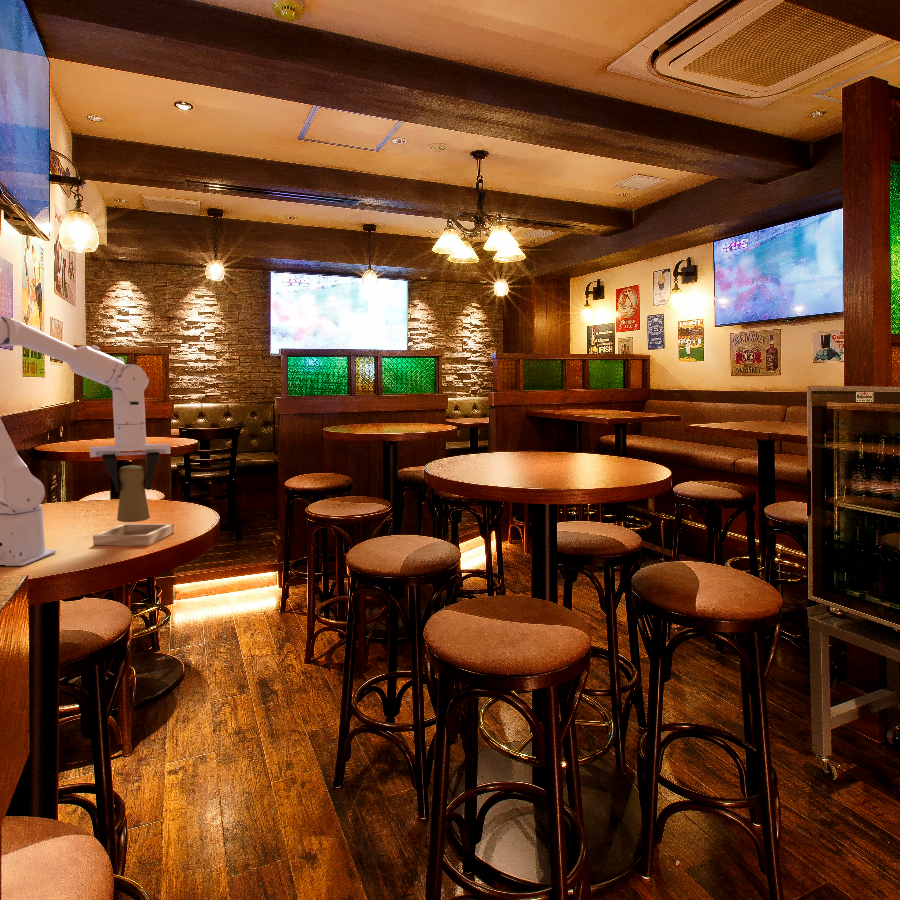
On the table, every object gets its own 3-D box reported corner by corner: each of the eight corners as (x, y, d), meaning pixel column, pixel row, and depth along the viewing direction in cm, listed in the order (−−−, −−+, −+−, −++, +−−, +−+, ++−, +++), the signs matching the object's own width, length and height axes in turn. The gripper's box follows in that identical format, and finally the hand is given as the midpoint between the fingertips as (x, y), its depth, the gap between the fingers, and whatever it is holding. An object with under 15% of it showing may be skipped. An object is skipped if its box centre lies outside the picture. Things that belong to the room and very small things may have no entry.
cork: (115, 522, 124) (113, 469, 122) (119, 515, 129) (117, 463, 128) (148, 521, 126) (147, 468, 124) (151, 513, 132) (149, 463, 130)
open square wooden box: (148, 545, 122) (148, 535, 122) (93, 545, 122) (92, 535, 122) (174, 533, 133) (173, 523, 133) (123, 532, 133) (123, 523, 133)
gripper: (167, 422, 132) (170, 485, 133) (88, 424, 125) (92, 490, 126) (170, 423, 126) (173, 489, 127) (88, 425, 119) (91, 495, 120)
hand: (133, 490), depth 126 cm, fingers closed on cork, 5 cm apart
